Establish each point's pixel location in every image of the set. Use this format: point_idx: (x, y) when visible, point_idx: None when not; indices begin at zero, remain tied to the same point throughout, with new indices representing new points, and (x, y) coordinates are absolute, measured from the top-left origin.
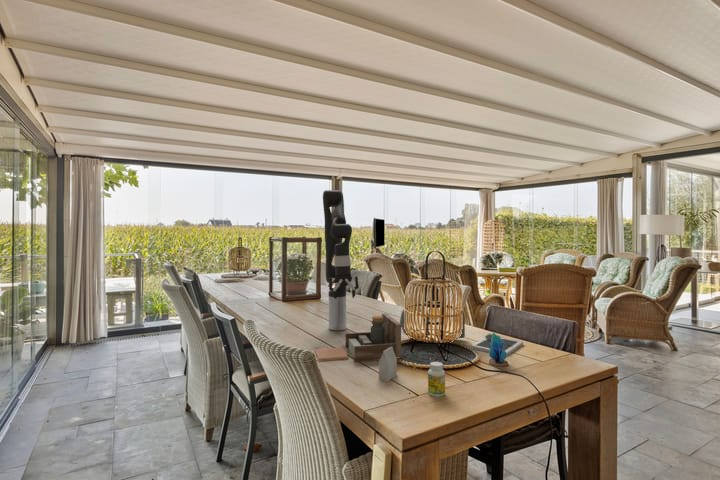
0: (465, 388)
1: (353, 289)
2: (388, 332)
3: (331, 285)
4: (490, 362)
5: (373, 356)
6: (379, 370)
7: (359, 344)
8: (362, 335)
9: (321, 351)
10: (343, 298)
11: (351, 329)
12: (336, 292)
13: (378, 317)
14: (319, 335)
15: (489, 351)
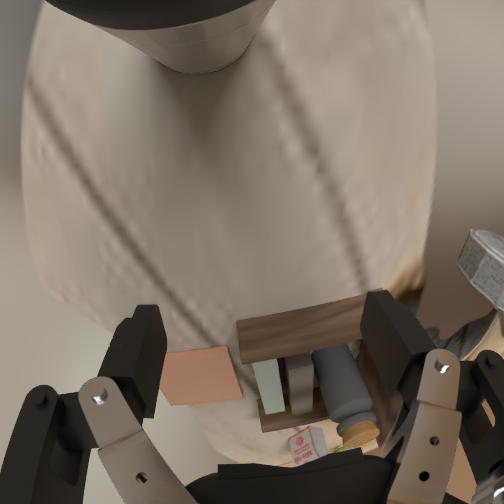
0: None
1: (407, 405)
2: (380, 384)
3: (79, 487)
4: None
5: None
6: (291, 450)
7: (280, 394)
8: (303, 368)
9: (165, 374)
10: (260, 3)
11: (282, 51)
12: (125, 7)
13: (361, 442)
14: (108, 167)
15: None
